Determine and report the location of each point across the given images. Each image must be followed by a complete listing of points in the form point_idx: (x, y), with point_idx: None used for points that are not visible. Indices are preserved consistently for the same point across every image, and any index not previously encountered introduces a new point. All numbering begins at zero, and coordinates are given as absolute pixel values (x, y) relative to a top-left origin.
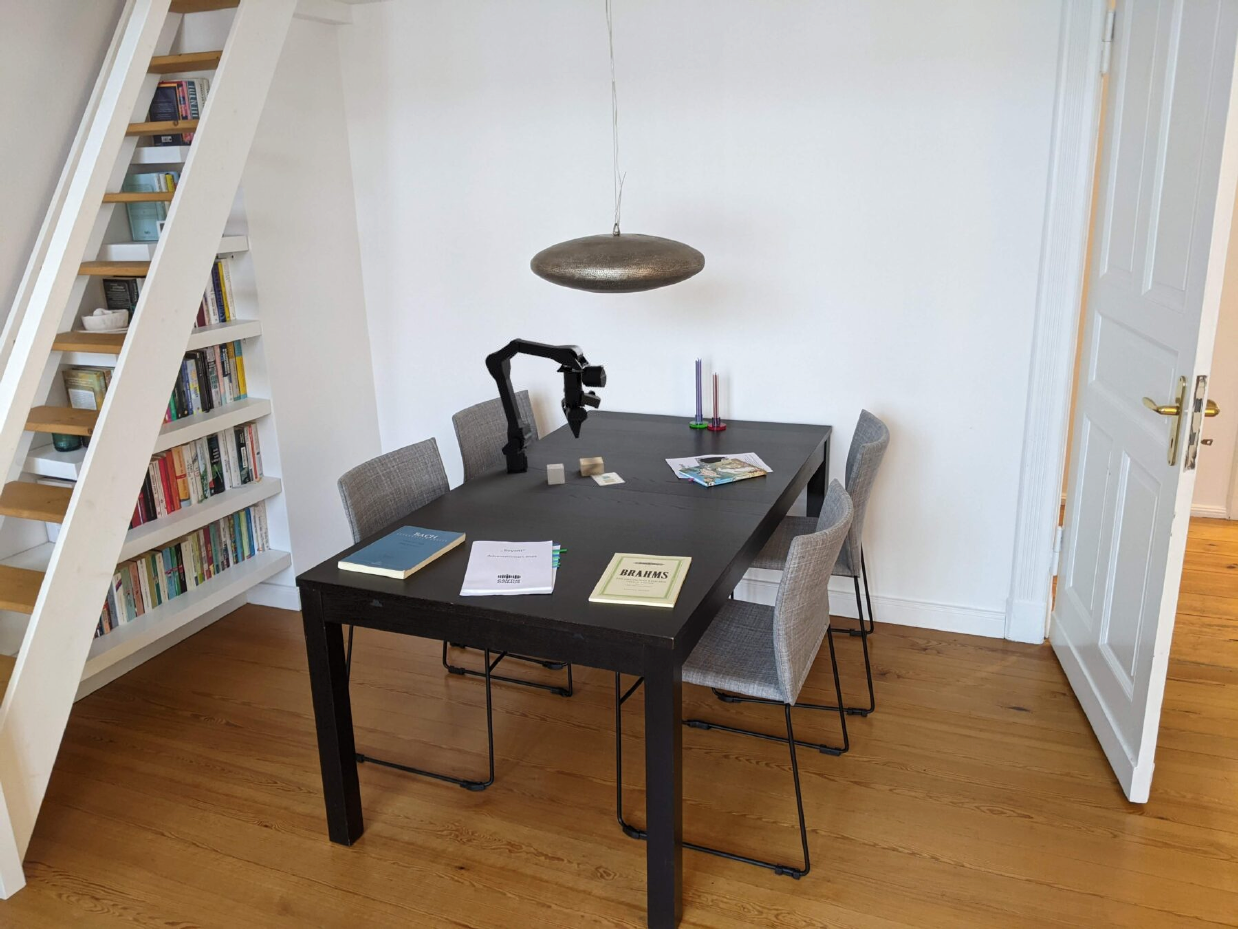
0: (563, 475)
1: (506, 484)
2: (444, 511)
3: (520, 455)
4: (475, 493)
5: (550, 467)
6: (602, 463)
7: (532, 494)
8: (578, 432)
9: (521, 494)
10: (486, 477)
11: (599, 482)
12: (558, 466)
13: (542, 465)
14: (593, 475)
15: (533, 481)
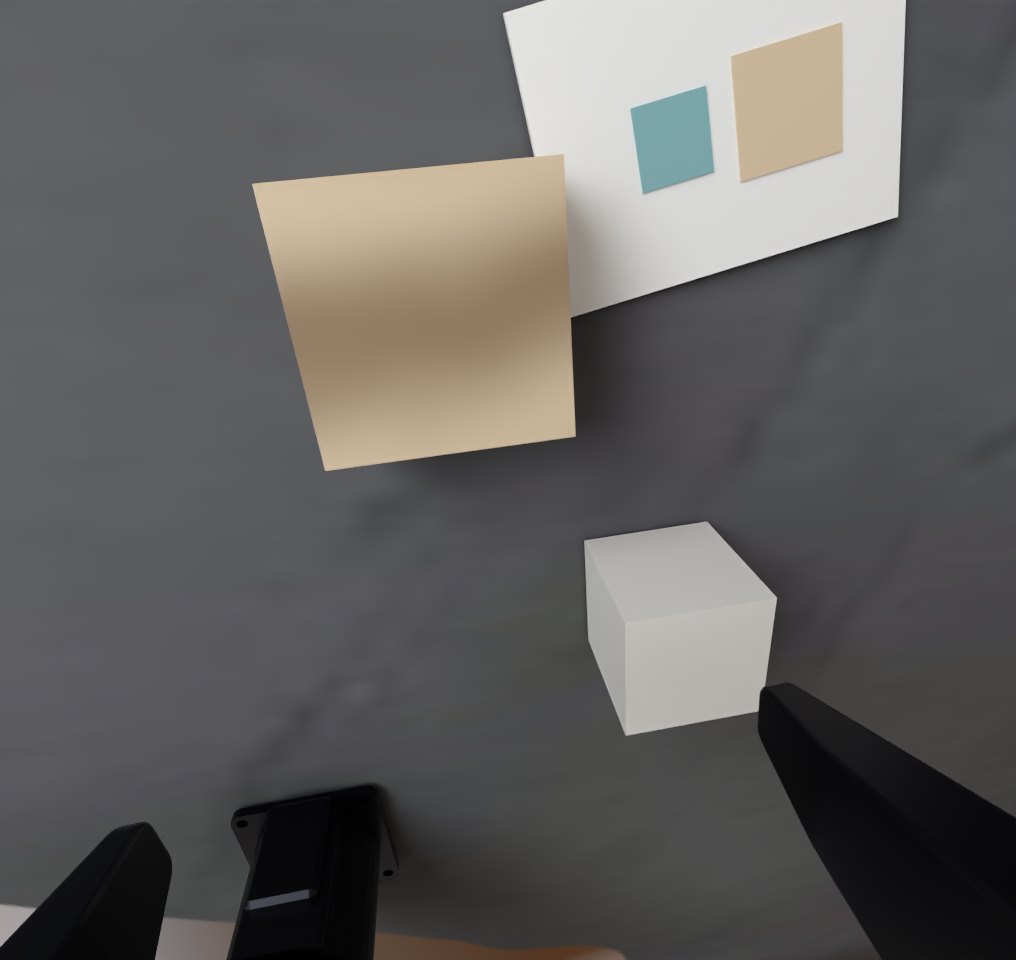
0: (739, 563)
1: (612, 825)
2: None
3: (349, 941)
4: (719, 902)
5: (715, 699)
6: (563, 170)
7: (848, 679)
8: (929, 791)
9: None
10: (456, 926)
11: (809, 223)
12: (707, 645)
13: (189, 721)
14: (572, 287)
15: (590, 713)
